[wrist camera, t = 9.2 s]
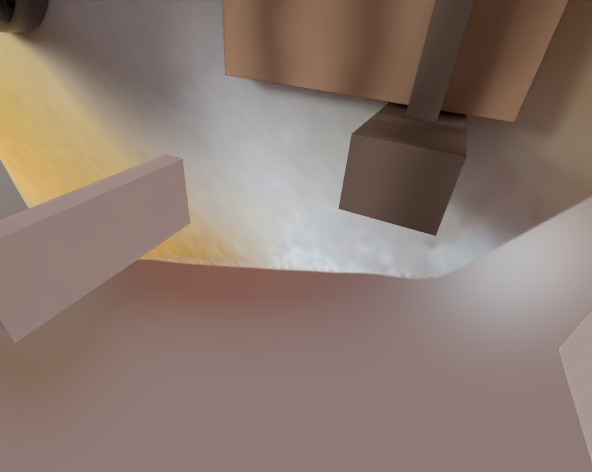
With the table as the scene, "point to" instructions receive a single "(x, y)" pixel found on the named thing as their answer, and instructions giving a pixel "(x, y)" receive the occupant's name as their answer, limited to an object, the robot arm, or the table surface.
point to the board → (390, 48)
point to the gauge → (413, 138)
